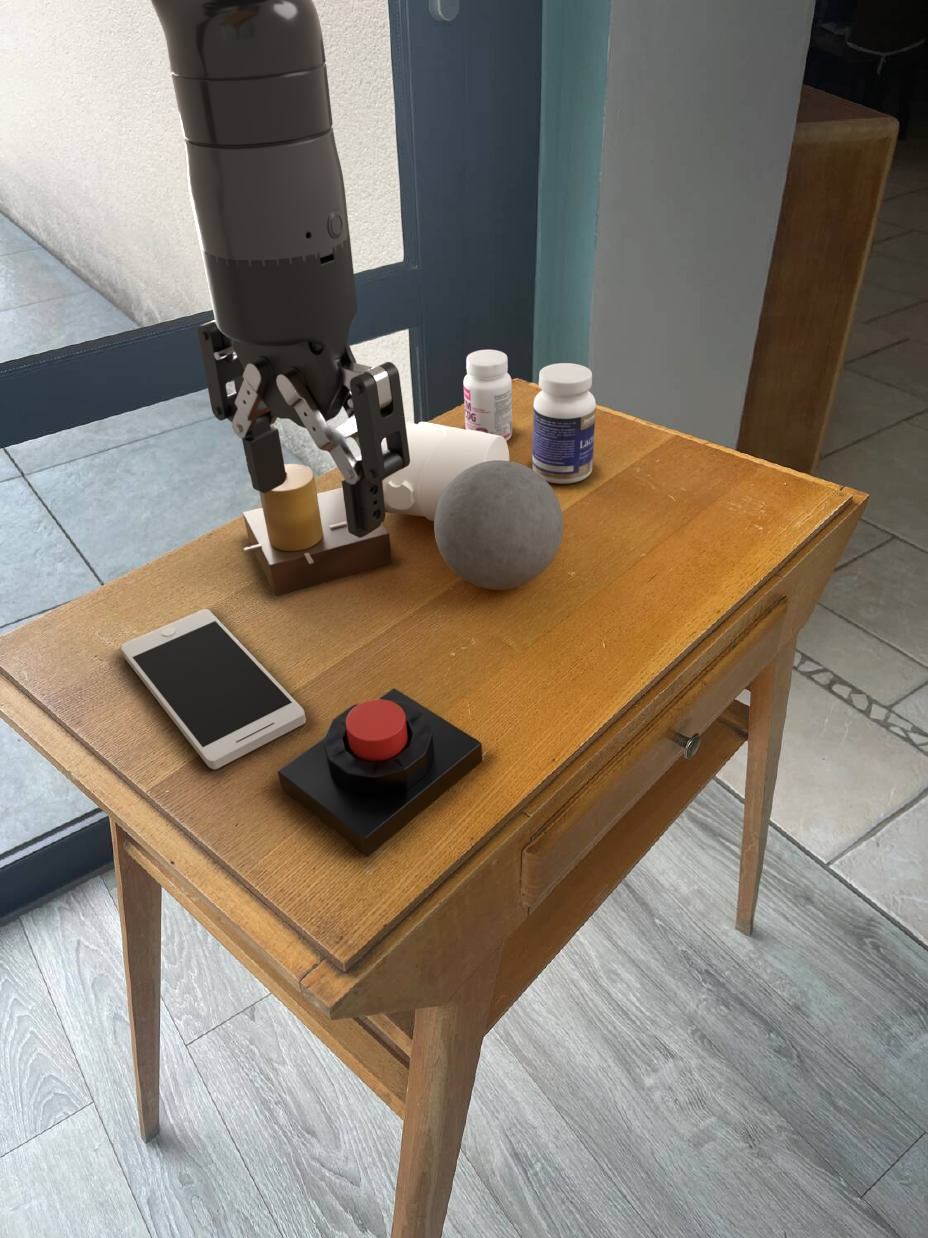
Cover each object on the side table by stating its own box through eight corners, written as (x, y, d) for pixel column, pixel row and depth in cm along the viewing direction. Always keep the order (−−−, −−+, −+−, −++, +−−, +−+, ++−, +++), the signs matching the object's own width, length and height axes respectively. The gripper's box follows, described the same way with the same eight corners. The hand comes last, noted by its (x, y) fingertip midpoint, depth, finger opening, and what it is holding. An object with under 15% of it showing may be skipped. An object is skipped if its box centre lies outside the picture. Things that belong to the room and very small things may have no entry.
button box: (367, 857, 54) (361, 818, 52) (281, 789, 59) (272, 750, 56) (482, 761, 60) (481, 722, 58) (396, 705, 64) (391, 667, 62)
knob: (334, 530, 77) (324, 467, 73) (299, 557, 74) (288, 493, 70) (292, 517, 79) (281, 455, 75) (257, 542, 76) (244, 479, 72)
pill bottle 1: (455, 437, 95) (452, 358, 90) (486, 421, 98) (484, 343, 93) (490, 451, 93) (489, 370, 88) (521, 434, 96) (521, 354, 90)
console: (264, 609, 74) (257, 576, 72) (234, 545, 81) (227, 514, 79) (398, 571, 77) (394, 539, 75) (357, 513, 84) (353, 482, 83)
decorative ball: (563, 615, 71) (567, 502, 65) (433, 615, 72) (425, 503, 66) (559, 543, 79) (562, 436, 73) (442, 544, 80) (435, 438, 74)
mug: (476, 550, 79) (473, 466, 74) (376, 532, 82) (367, 450, 77) (521, 483, 88) (521, 403, 83) (429, 468, 91) (424, 391, 86)
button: (376, 770, 55) (373, 750, 54) (336, 742, 57) (333, 721, 56) (419, 737, 57) (417, 716, 56) (379, 711, 59) (376, 690, 58)
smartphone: (209, 615, 73) (206, 606, 72) (309, 722, 63) (306, 711, 62) (121, 654, 70) (117, 644, 69) (212, 772, 60) (209, 762, 59)
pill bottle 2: (591, 487, 86) (597, 385, 80) (530, 485, 87) (530, 384, 81) (592, 457, 91) (598, 359, 85) (534, 456, 92) (535, 358, 86)
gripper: (129, 227, 49) (195, 498, 59) (316, 276, 41) (355, 577, 51) (241, 196, 53) (285, 452, 63) (429, 234, 46) (445, 518, 56)
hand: (316, 508), depth 57 cm, fingers open, 8 cm apart
